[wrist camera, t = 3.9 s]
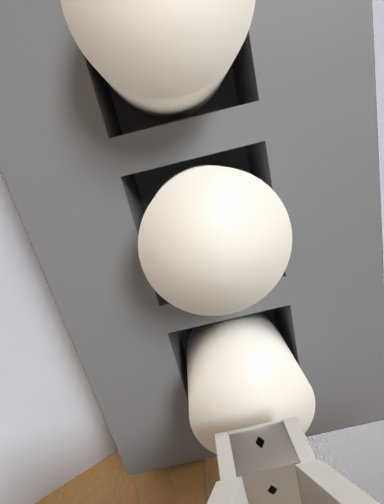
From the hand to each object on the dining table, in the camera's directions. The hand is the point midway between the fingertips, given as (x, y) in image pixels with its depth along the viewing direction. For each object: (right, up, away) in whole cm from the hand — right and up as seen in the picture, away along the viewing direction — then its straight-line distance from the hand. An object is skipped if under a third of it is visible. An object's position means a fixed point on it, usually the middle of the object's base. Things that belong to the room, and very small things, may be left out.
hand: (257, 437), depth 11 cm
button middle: (-2, +8, +3) cm, 9 cm away
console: (-2, +9, +5) cm, 10 cm away
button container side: (0, +2, +5) cm, 5 cm away
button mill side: (-3, +15, +1) cm, 15 cm away
